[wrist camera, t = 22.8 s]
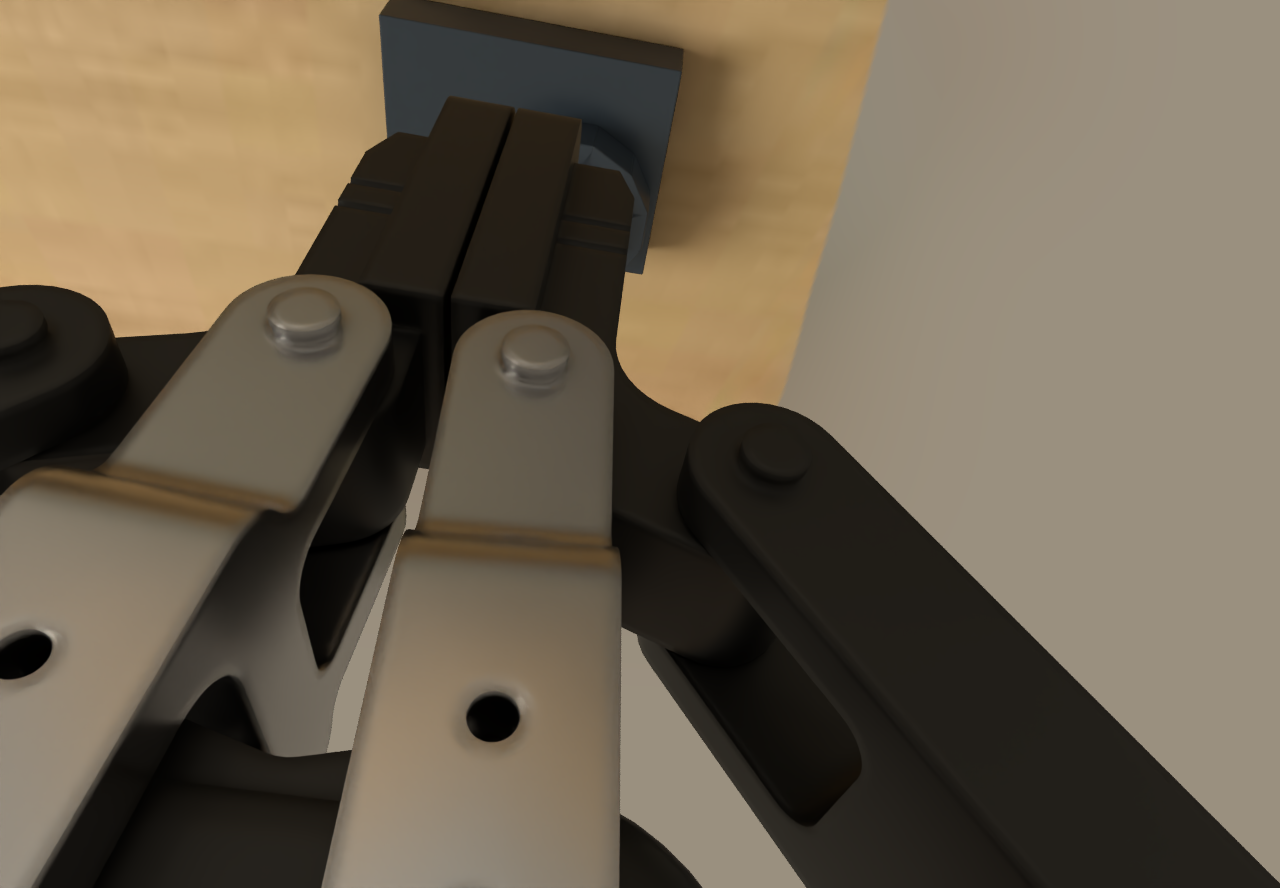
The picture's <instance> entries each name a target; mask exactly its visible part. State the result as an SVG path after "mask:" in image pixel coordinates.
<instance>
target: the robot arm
mask: <svg viewBox="0 0 1280 888" xmlns="http://www.w3.org/2000/svg"><path fill="white" fill-rule="evenodd" d="M581 130H582V119H578V118H573V117H567V116H562V115H556V114H551V113H545V112H540V111H534V110H529V109H523V108H518V110H517V112H515V108H514V107H511V106H506V105H500V104H495V103H489V102H484V101H478V100H473V99H467V98H462V97H456V96H449V97H448V98H447V100H446V101H445V103H444V106H443V108H442V110H441V112H440V114H439V116H438V118H437V120H436V122H435V124H434V126H433V128H432V130H431V132H430V134H429V136H428V137H425V136H420V135H414V134H409V133H403V132H397V133H395V134H393V135H392V136H390V137H389V138H387V139H385V140H384V141H382V142H380V143H379V144H377V145H376V146H374V147H372V148H371V149H369V150H367V151H366V152H365V154H364V156H363V158H362V159H361V161H360V163H359V165H358V166H357V168H356V170H355V172H354V173H353V175H352V177H351V183H348V184H347V185H346V187H345V189H344V191H343V192H342V194H341V196H340V198H339V199H338V206H334V208H333V210H332V212H331V213H330V215H329V217H328V219H327V220H326V222H325V224H324V226H323V227H322V229H321V231H320V232H319V234H318V236H317V238H316V239H315V241H314V243H313V245H312V246H311V248H310V250H309V252H308V253H307V255H306V257H305V259H304V260H303V262H302V264H301V266H300V267H299V269H298V271H297V273H296V274H295V275H293V276H286V277H281V278H277V279H273V280H269V281H266V282H264V283H261V284H259V285H256V286H254V287H252V288H250V289H248V290H247V291H245V292H243V293H242V294H240V295H239V296H238V297H236V298H235V299H234V300H233V301H232V302H231V303H230V304H229V305H228V306H227V307H226V308H225V310H224V311H223V312H222V314H221V315H220V316H219V317H218V319H217V320H216V321H215V323H214V324H213V325H212V326H211V328H210V329H209V330H208V331H205V332H195V333H185V334H168V335H152V336H135V337H119V338H115V336H114V333H113V330H112V328H111V325H110V323H109V320H108V318H107V315H106V313H105V312H104V311H103V309H102V308H101V307H100V306H99V305H98V304H97V303H95V302H94V301H93V300H92V299H90V298H88V297H86V296H84V295H82V294H80V293H77V292H74V291H71V290H68V289H64V288H59V287H54V286H43V285H17V286H8V287H0V888H702V887H701V885H700V884H699V883H698V881H696V879H695V878H694V876H693V875H692V874H691V873H690V871H689V870H688V869H687V868H686V867H685V866H684V865H683V864H682V863H681V862H680V861H679V860H678V859H677V858H676V857H675V856H674V855H673V854H672V853H671V852H670V851H669V850H668V849H667V848H666V847H665V846H664V845H663V844H661V843H660V842H659V841H658V840H656V839H655V838H654V837H653V836H651V835H650V834H649V833H647V832H646V831H645V830H644V829H642V828H641V827H640V826H639V825H637V824H636V823H634V822H633V821H631V820H629V819H627V818H626V817H624V816H622V815H621V814H620V717H621V716H620V712H621V711H620V709H621V707H620V706H621V627H623V628H625V629H627V630H629V631H631V632H633V633H635V634H637V636H638V642H639V645H640V648H641V650H642V653H643V654H644V656H645V658H646V659H647V661H648V663H649V664H650V666H651V667H652V669H653V670H654V671H655V673H656V674H657V675H658V677H659V679H660V680H661V681H662V683H663V684H664V686H665V687H666V689H667V690H668V691H669V693H670V694H671V696H672V697H673V699H674V700H675V701H676V703H677V704H678V706H679V707H680V708H681V710H682V711H683V713H684V714H685V716H686V717H687V718H688V720H689V721H690V723H691V724H692V726H693V727H694V728H695V730H696V731H697V733H698V734H699V736H700V737H701V738H702V740H703V741H704V743H705V744H706V745H707V747H708V748H709V750H710V751H711V753H712V754H713V755H714V757H715V758H716V760H717V761H718V762H719V764H720V765H721V767H722V768H723V770H724V771H725V773H726V774H727V775H728V777H729V778H730V779H731V781H732V782H733V784H734V785H735V787H736V788H737V790H738V791H739V792H740V793H741V795H742V797H743V798H744V799H745V801H746V802H747V804H748V805H749V806H750V808H751V809H752V811H753V812H754V814H755V815H756V817H757V818H758V819H759V821H760V822H761V824H762V825H763V827H764V828H765V829H766V831H767V832H768V834H769V835H770V837H771V838H772V839H773V841H774V842H775V844H776V845H777V846H778V848H779V849H780V851H781V852H782V854H783V855H784V856H785V858H786V859H787V861H788V862H789V864H790V865H791V866H792V868H793V869H794V871H795V872H796V873H797V875H798V876H799V878H800V879H801V881H802V882H803V883H804V885H805V886H806V888H1280V883H1279V882H1278V881H1277V880H1276V879H1275V878H1274V877H1273V876H1272V875H1271V874H1270V873H1269V872H1268V871H1267V870H1266V869H1265V868H1264V867H1263V866H1262V865H1261V864H1260V863H1259V862H1258V861H1257V860H1256V859H1255V858H1254V857H1253V856H1252V855H1251V854H1250V853H1249V852H1248V851H1247V850H1246V849H1245V848H1244V847H1242V845H1241V844H1240V843H1239V842H1237V840H1236V839H1235V838H1234V837H1233V836H1232V835H1231V834H1230V833H1229V832H1228V831H1227V830H1226V829H1225V828H1224V827H1223V826H1222V825H1221V824H1220V823H1219V822H1218V821H1217V820H1216V819H1215V818H1214V817H1213V816H1212V815H1211V814H1210V813H1209V812H1208V811H1207V810H1206V809H1204V807H1203V806H1202V805H1201V804H1200V803H1199V802H1198V801H1197V800H1196V799H1195V798H1193V796H1192V795H1191V794H1190V793H1189V792H1188V791H1187V790H1186V789H1185V788H1183V786H1182V785H1181V784H1180V783H1179V782H1178V781H1177V780H1176V779H1175V778H1174V777H1173V776H1172V775H1171V774H1170V773H1169V772H1168V771H1167V770H1166V769H1165V768H1164V767H1162V765H1161V764H1160V763H1159V762H1158V761H1156V759H1155V758H1154V757H1153V756H1151V755H1150V753H1149V752H1148V751H1147V750H1145V748H1144V747H1143V746H1142V745H1141V744H1140V743H1139V742H1137V740H1135V738H1133V736H1132V735H1130V733H1129V732H1128V731H1126V729H1124V727H1123V726H1122V725H1121V724H1119V722H1118V721H1116V719H1115V718H1113V716H1111V714H1110V713H1108V711H1107V710H1105V709H1104V707H1102V705H1101V704H1099V703H1098V702H1097V700H1095V698H1094V697H1093V696H1091V695H1090V693H1088V692H1087V690H1086V689H1084V687H1082V685H1081V684H1079V683H1078V681H1076V680H1075V679H1074V678H1073V677H1072V676H1071V675H1070V674H1069V673H1068V672H1067V671H1066V670H1065V669H1064V668H1063V667H1062V666H1061V665H1060V664H1059V663H1058V662H1057V661H1056V660H1055V659H1054V658H1053V657H1052V656H1051V655H1050V654H1049V653H1048V652H1047V651H1046V650H1045V649H1044V648H1043V647H1042V646H1041V645H1040V644H1039V643H1038V642H1037V641H1036V640H1035V639H1034V638H1033V637H1032V636H1031V635H1030V634H1029V633H1028V632H1027V631H1026V630H1025V629H1024V628H1023V627H1022V626H1021V625H1020V624H1019V623H1018V622H1017V621H1016V620H1015V619H1014V618H1013V617H1012V616H1011V615H1010V614H1009V613H1008V612H1007V611H1006V610H1005V609H1004V608H1003V607H1002V606H1001V605H1000V604H999V603H998V602H997V601H996V600H995V599H994V598H993V597H992V596H991V595H990V594H989V593H988V592H987V591H986V590H985V589H984V588H983V587H982V586H981V585H980V584H979V583H978V582H977V581H976V580H975V579H974V578H973V577H972V576H971V575H970V574H969V573H968V572H967V571H966V570H965V569H964V568H963V567H962V566H961V565H960V564H959V563H958V562H957V561H956V560H955V559H954V558H953V557H952V556H951V555H950V554H949V553H948V552H947V551H946V550H945V549H944V548H943V547H942V546H941V545H940V544H939V543H938V542H937V541H936V540H935V539H934V538H933V537H932V536H931V535H930V534H929V533H928V532H927V531H926V530H925V529H924V528H923V527H922V526H921V525H920V524H919V523H918V522H917V521H916V520H915V519H914V518H913V517H912V516H911V515H910V514H909V513H908V512H907V511H906V510H905V509H904V508H903V507H902V506H901V505H900V504H899V503H898V502H897V501H896V500H895V499H894V498H893V497H892V496H891V495H890V494H889V493H888V492H887V491H886V490H885V489H884V488H883V487H882V486H881V485H880V484H879V483H878V482H877V481H876V480H875V479H874V478H873V477H872V476H871V475H870V474H869V473H868V472H867V471H866V470H865V469H864V468H863V467H862V466H861V465H860V464H859V463H858V462H857V461H856V460H855V459H854V458H853V457H852V456H851V455H850V454H849V453H848V452H847V451H846V450H845V449H844V448H843V447H842V446H841V445H840V444H839V443H838V442H837V441H836V440H835V439H834V438H833V437H832V436H831V435H830V434H829V433H828V432H826V431H825V430H824V429H823V428H822V427H821V426H819V425H818V424H816V423H815V422H813V421H812V420H810V419H808V418H807V417H805V416H803V415H801V414H799V413H797V412H794V411H791V410H789V409H786V408H782V407H779V406H775V405H771V404H763V403H740V404H733V405H729V406H726V407H723V408H720V409H718V410H716V411H714V412H712V413H710V414H709V415H708V416H706V417H705V418H704V419H703V420H702V421H701V422H698V421H696V420H694V419H691V418H689V417H687V416H684V415H682V414H680V413H677V412H675V411H673V410H670V409H668V408H666V407H664V406H662V405H660V404H658V403H657V402H655V401H654V400H652V399H651V398H649V397H648V396H646V395H645V394H644V393H643V392H641V391H640V390H639V389H638V388H637V387H636V386H635V385H634V384H633V383H632V382H631V381H630V380H629V379H628V377H627V375H626V374H625V372H624V371H623V369H622V367H621V365H620V363H619V360H618V357H617V352H616V337H617V329H618V322H619V314H620V306H621V299H622V291H623V283H624V276H625V268H626V261H627V252H628V245H629V238H630V229H631V223H632V215H633V207H634V200H635V198H634V196H633V194H632V193H631V191H630V189H629V187H628V185H627V183H626V181H625V180H624V178H623V176H622V174H621V172H620V171H617V170H612V169H606V168H600V167H595V166H589V165H584V164H578V159H579V150H580V141H581ZM418 468H425V469H429V472H428V476H427V481H426V486H425V491H424V495H423V500H422V505H421V510H420V514H419V519H418V523H417V525H416V528H415V530H411V529H408V530H406V531H405V533H404V534H403V532H404V528H405V525H406V506H405V505H406V503H407V500H408V498H409V495H410V491H411V489H412V485H413V483H414V480H415V476H416V473H417V470H418ZM402 535H403V536H402ZM401 537H402V538H401ZM400 540H401V541H400ZM399 542H400V544H399ZM398 545H399V547H398ZM397 547H398V550H397V554H396V557H395V561H394V565H393V570H392V574H391V579H390V583H389V587H388V592H387V596H386V601H385V606H384V610H383V614H382V619H381V623H380V628H379V632H378V637H377V642H376V646H375V650H374V655H373V659H372V663H371V668H370V673H369V677H368V681H367V686H366V690H365V695H364V699H363V704H362V708H361V713H360V717H359V721H358V726H357V731H356V735H355V739H354V744H353V748H352V750H348V751H340V752H332V753H326V752H327V748H328V744H329V739H330V734H331V728H332V718H333V710H334V705H335V701H336V697H337V693H338V690H339V687H340V684H341V681H342V679H343V676H344V673H345V671H346V669H347V666H348V664H349V661H350V659H351V657H352V654H353V652H354V650H355V647H356V645H357V642H358V640H359V638H360V635H361V633H362V631H363V628H364V626H365V623H366V621H367V619H368V616H369V614H370V611H371V609H372V607H373V604H374V602H375V599H376V597H377V595H378V592H379V590H380V588H381V585H382V583H383V580H384V578H385V576H386V573H387V571H388V568H389V566H390V564H391V561H392V559H393V556H394V554H395V552H396V549H397Z"/></svg>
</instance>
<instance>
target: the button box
mask: <svg viewBox="0 0 1280 888" xmlns="http://www.w3.org/2000/svg"><path fill="white" fill-rule="evenodd" d="M379 22H380V37H381V52H382V67H383V82H384V97H385V112H386V127H387V138H389V137H390V136H392V135H393V134H395V133H397V132H403V133H409V134H414V135H420V136H425V137H428V136H429V134H430V132H431V130H432V128H433V126H434V124H435V122H436V120H437V118H438V116H439V114H440V112H441V110H442V108H443V106H444V103H445V101H446V100H447V98H448V97H449V96H456V97H462V98H467V99H473V100H478V101H484V102H489V103H495V104H500V105H506V106H511V107H514V108H515V112H517V110H518V108H523V109H529V110H534V111H540V112H545V113H551V114H556V115H562V116H567V117H573V118H578V119H582V130H581V141H580V150H579V159H578V164H584V165H589V166H595V167H600V168H606V169H612V170H617V171H620V172H621V174H622V176H623V178H624V180H625V181H626V183H627V185H628V187H629V189H630V191H631V193H632V194H633V196H634V198H635V200H634V207H633V215H632V223H631V229H630V238H629V245H628V252H627V261H626V268H625V272H630V273H636V274H643V270H644V265H645V260H646V254H647V249H648V244H649V239H650V234H651V229H652V224H653V219H654V213H655V208H656V203H657V198H658V193H659V188H660V183H661V177H662V172H663V167H664V162H665V157H666V152H667V147H668V141H669V136H670V131H671V126H672V121H673V116H674V111H675V105H676V100H677V95H678V90H679V85H680V80H681V75H682V65H683V49H680V48H675V47H669V46H664V45H659V44H654V43H648V42H643V41H638V40H633V39H627V38H622V37H617V36H611V35H606V34H601V33H596V32H590V31H585V30H580V29H575V28H569V27H564V26H559V25H553V24H548V23H543V22H538V21H532V20H527V19H522V18H517V17H511V16H506V15H501V14H495V13H490V12H485V11H480V10H474V9H469V8H464V7H459V6H453V5H448V4H443V3H437V2H432V1H427V0H389V2H388V3H387V4H386V6H385V7H384V9H383V10H382V12H381V13H380V14H379Z"/></svg>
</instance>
